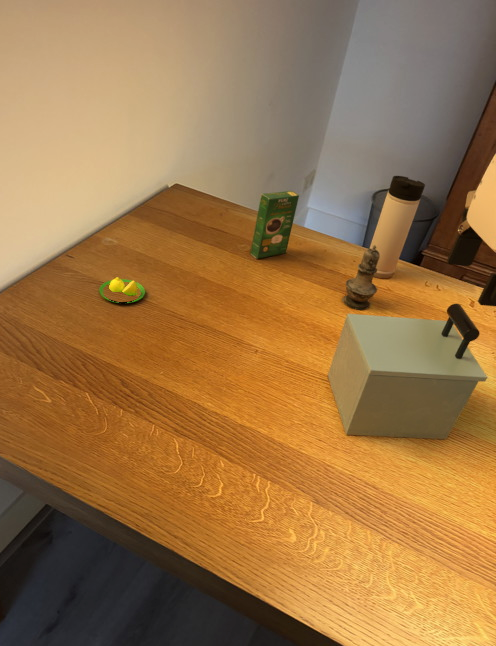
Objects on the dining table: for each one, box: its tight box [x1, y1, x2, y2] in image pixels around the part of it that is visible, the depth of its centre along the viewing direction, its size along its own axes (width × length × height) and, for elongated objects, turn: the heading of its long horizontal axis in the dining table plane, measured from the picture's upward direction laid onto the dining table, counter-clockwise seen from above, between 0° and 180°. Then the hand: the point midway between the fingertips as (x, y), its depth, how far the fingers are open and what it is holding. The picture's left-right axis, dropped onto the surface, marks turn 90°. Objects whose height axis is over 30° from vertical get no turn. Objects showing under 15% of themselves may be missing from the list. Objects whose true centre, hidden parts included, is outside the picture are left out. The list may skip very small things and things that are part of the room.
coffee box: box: [249, 190, 300, 260], centre depth 111 cm, size 8×3×13 cm, turn 122°
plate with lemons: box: [99, 276, 146, 304], centre depth 96 cm, size 8×8×3 cm
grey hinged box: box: [327, 318, 479, 440], centre depth 78 cm, size 15×13×11 cm
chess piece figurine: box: [342, 245, 380, 311], centre depth 100 cm, size 6×6×12 cm
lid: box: [345, 303, 488, 382], centre depth 73 cm, size 16×13×6 cm
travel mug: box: [369, 175, 426, 280], centre depth 109 cm, size 6×7×20 cm
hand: (473, 283), depth 68 cm, fingers open, 9 cm apart
